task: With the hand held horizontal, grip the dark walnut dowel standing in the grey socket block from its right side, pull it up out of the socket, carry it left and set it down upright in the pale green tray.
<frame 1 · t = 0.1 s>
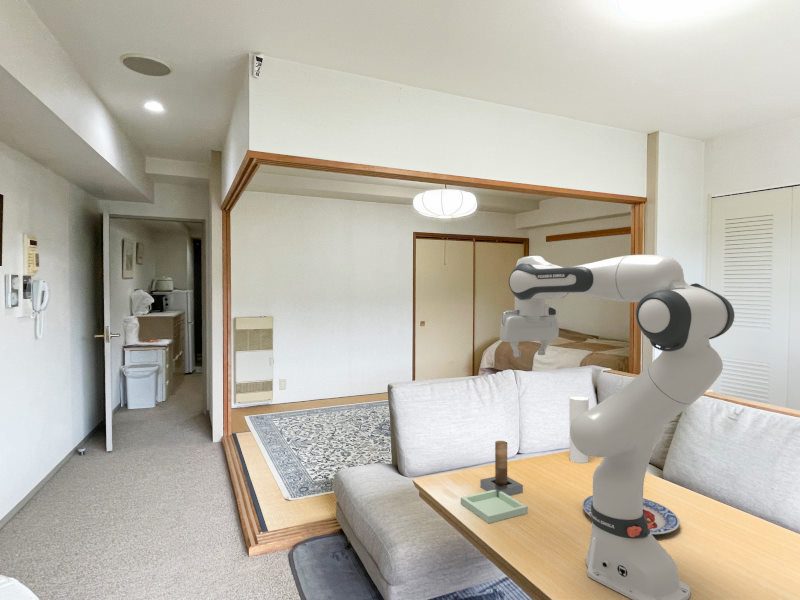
hand: (529, 355, 140), 48 cm above the table, tool pointing down, fingers open, 8 cm apart
tray: (493, 509, 143), on the table
cylindrical container: (579, 460, 186), on the table
ceramic plate: (629, 519, 138), on the table
socket block: (501, 491, 157), on the table
dowel: (501, 489, 157), resting on socket block
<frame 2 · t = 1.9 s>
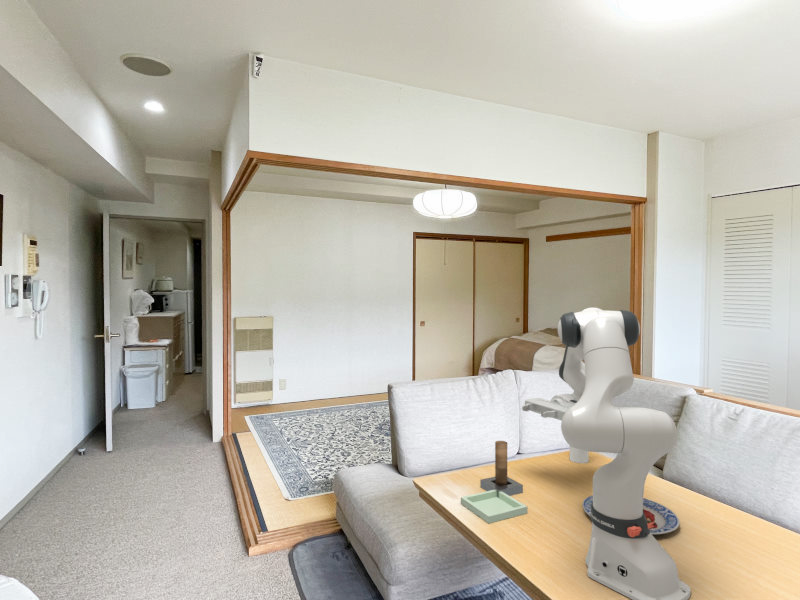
hand: (532, 411, 160), 26 cm above the table, tool horizontal, fingers open, 8 cm apart
nothing on the table moved.
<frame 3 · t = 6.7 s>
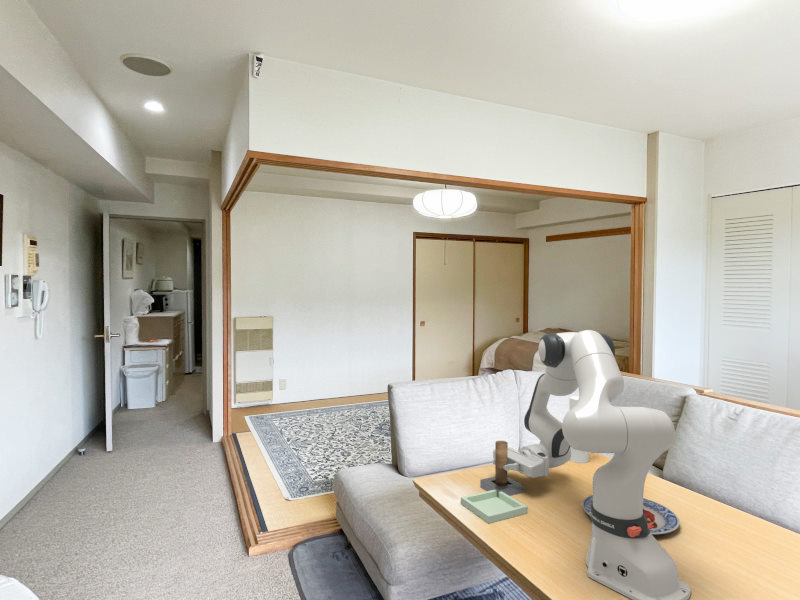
hand: (499, 465, 156), 9 cm above the table, tool horizontal, fingers closed on dowel, 4 cm apart
dowel: (501, 489, 157), point 1 cm above the table, touching gripper, socket block
everything else where it was.
when the fingers open (11 cm above the table, at t = 11.5 s): dowel drops 2 cm, resting on tray.
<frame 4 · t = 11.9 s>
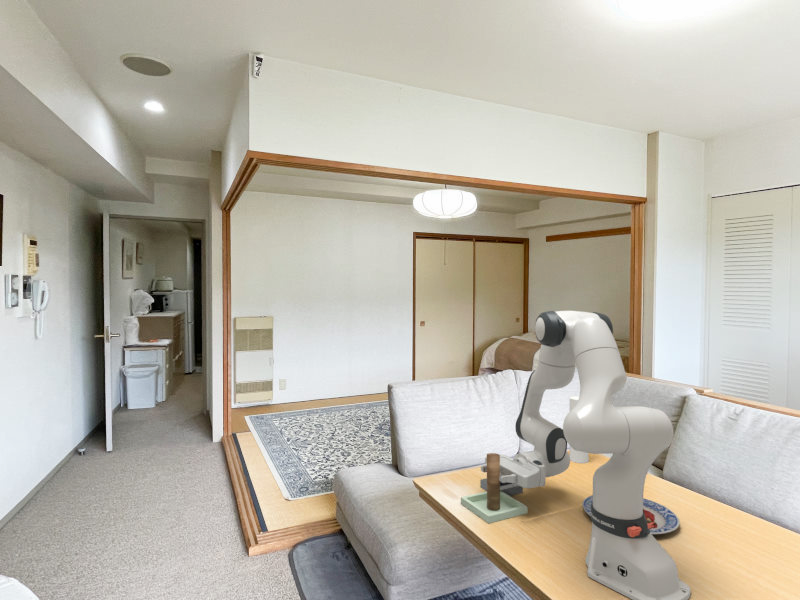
hand: (490, 474, 142), 11 cm above the table, tool horizontal, fingers open, 8 cm apart
dowel: (493, 507, 143), point 1 cm above the table, touching tray
everything else where it was.
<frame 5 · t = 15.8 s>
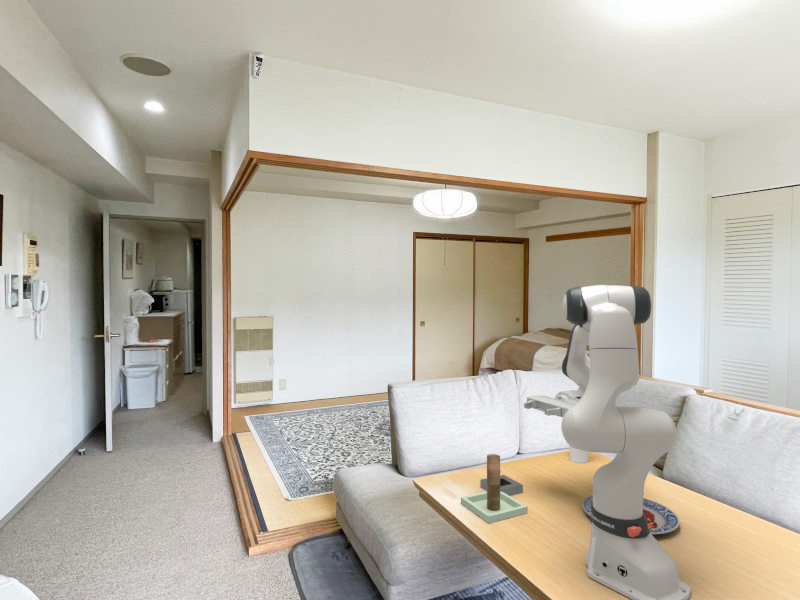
hand: (535, 409, 147), 30 cm above the table, tool horizontal, fingers open, 8 cm apart
at the end: dowel inside the target area on the tray (0.0 cm from its centre), point 0.6 cm above the tray's base; dowel tilted 1°; the gripper is holding nothing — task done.
